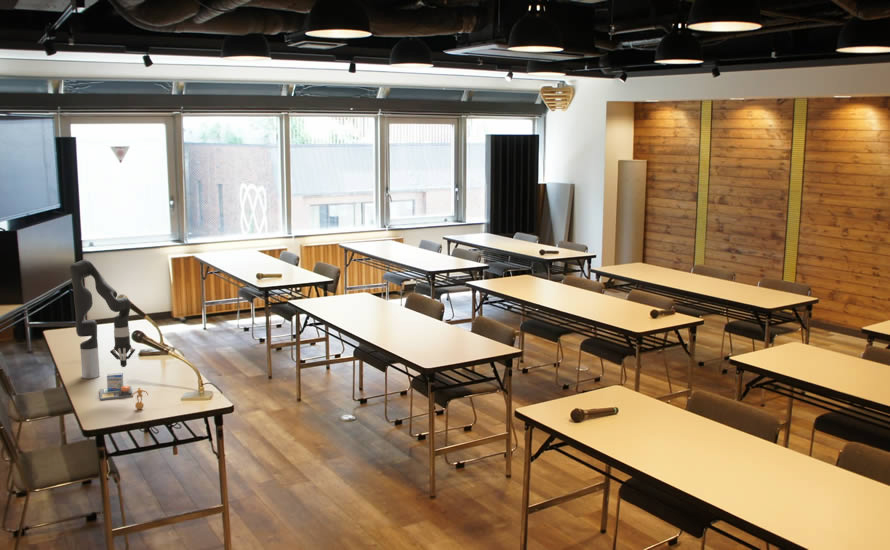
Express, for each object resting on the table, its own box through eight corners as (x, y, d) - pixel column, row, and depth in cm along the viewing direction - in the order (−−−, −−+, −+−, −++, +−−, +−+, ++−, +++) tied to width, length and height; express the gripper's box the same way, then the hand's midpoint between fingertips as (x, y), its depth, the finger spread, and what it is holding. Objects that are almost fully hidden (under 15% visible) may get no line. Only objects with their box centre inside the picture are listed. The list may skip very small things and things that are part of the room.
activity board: (99, 390, 424) (99, 387, 424) (131, 387, 431) (131, 384, 430) (100, 400, 409) (100, 396, 409) (133, 396, 416) (132, 393, 415)
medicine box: (107, 391, 420) (106, 375, 419) (108, 388, 424) (107, 373, 423) (123, 390, 423) (122, 374, 421) (123, 387, 427) (122, 372, 425)
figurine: (147, 406, 401) (146, 384, 399) (150, 410, 396) (148, 387, 394) (130, 409, 396) (129, 386, 394) (132, 413, 391) (131, 390, 389)
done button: (120, 389, 418) (120, 386, 418) (129, 388, 420) (129, 385, 420) (121, 391, 414) (121, 388, 414) (130, 390, 416) (129, 387, 416)
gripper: (106, 337, 409) (109, 369, 412) (133, 336, 412) (135, 367, 414) (110, 334, 417) (112, 365, 419) (136, 333, 419) (138, 364, 421)
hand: (123, 366), depth 416 cm, fingers closed
